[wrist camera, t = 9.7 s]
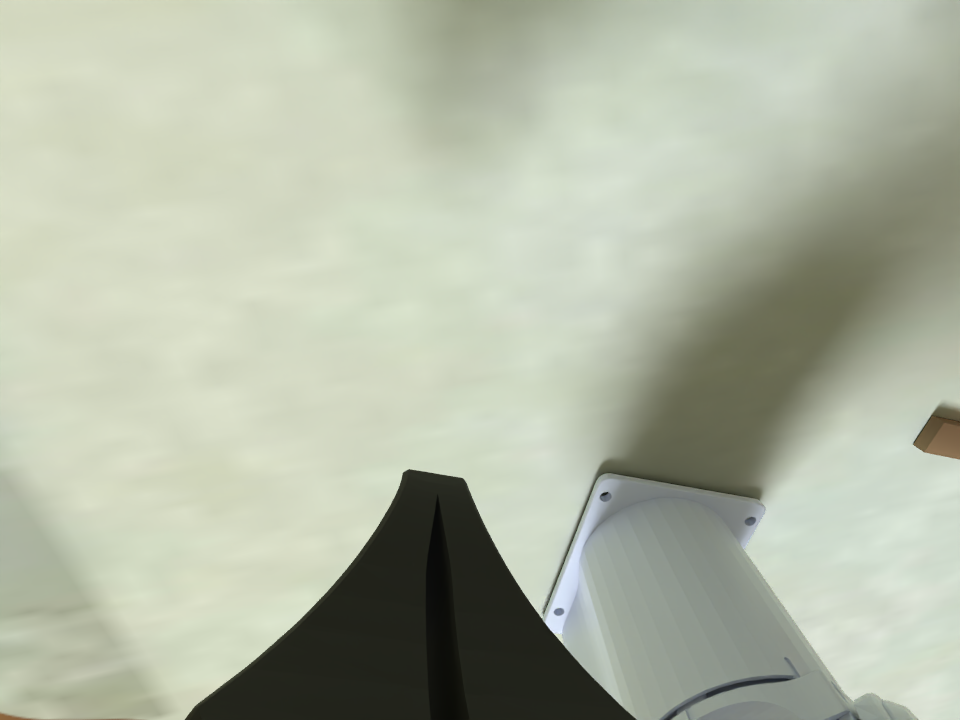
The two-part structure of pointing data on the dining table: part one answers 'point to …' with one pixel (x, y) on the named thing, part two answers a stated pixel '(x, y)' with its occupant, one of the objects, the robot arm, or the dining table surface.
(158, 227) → the dining table surface
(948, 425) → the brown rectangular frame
